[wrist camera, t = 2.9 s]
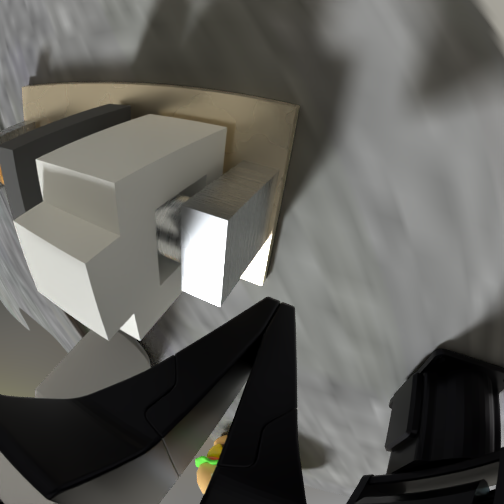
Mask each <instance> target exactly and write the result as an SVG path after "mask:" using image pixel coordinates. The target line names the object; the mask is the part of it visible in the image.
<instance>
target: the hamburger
mask: <svg viewBox="0 0 504 504" xmlns="http://www.w3.org/2000/svg"><path fill="white" fill-rule="evenodd" d="M226 438H227V435H224V436H221V437H219V438H218V439H217V440H216V441H215V442H214V446H213V447H212V448H211V449H210V450H209V452H208V454H207V457H205V456H201V457H199V458H196V459H195V461H196V467H199V468H198V471H197V472H196V474H197V483H198V485H199V487H200V489H201V491H202V493H203V494H204V493H205V491H206V489H207V487H208V484H209V482H210V480H211V477H212V475H213V472H214V470H215V467H216V464H217V462H218V459H219V457H220V454H221V451H222V449H223V446H224V443H225V441H226Z"/></svg>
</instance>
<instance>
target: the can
mask: <svg viewBox="0 0 504 504" xmlns="http://www.w3.org/2000/svg"><path fill="white" fill-rule="evenodd" d="M149 368H151V366H150V359H149V356H148V354H147V353H146V351H145V350H144V348H143V347H142V346H141V345H140V344H139V342H138V341H137V340H136V339H134V338H133V337H132V336H131V335H129V334H127V333H125V332H124V331H122V330H120V329H119V330H118V331H117V332H116V334H115V335H114V336H113V337H112V338H111V339H110V340H109V341H108V340H107V339H105V338H104V337H102V336H100V335H99V334H97V333H96V332H94V331H93V330H90V331H89V332H88V333H87V334H86V335H85V336H84V337H83V338H82V339H81V340H80V341H79V342H78V344H77V345H76V346H75V347H74V348H73V349H72V350H71V351H70V352H69V353H68V354H67V355H66V356H65V357H64V358H63V360H62V361H61V362H60V363H59V364H58V365H57V366H56V367H55V368H54V369H53V370H52V372H51V373H50V374H49V375H48V376H47V377H46V378H45V379H44V380H43V381H42V382H41V384H40V385H39V386H38V387H37V388H36V389H35V398H60V399H67V398H76V397H81V396H85V395H88V394H91V393H93V392H96V391H99V390H101V389H104V388H106V387H108V386H111V385H113V384H116V383H118V382H121V381H123V380H126V379H128V378H130V377H132V376H135V375H137V374H139V373H141V372H143V371H146V370H148V369H149Z"/></svg>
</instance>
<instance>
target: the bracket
mask: <svg viewBox="0 0 504 504" xmlns="http://www.w3.org/2000/svg"><path fill="white" fill-rule="evenodd" d="M226 134H227V127H224V126H219V125H214V124H208V123H203V122H198V121H192V120H186V119H180V118H174V117H168V116H161V115H154V114H148V115H145V116H142V117H139V118H136V119H133V120H130V121H127V122H124V123H121V124H118V125H115V126H113V127H110V128H107V129H104V130H102V131H99V132H97V133H94V134H91V135H89V136H86V137H84V138H82V139H79V140H77V141H74V142H72V143H70V144H67V145H65V146H63V147H61V148H58V149H56V150H54V151H52V152H50V153H47V154H45V155H43V156H41V157H39V158H37V159H36V166H37V172H38V177H39V183H40V188H41V193H42V198H43V202H41V203H40V204H38V205H36V206H35V207H33V208H32V209H30V210H28V211H27V212H25V213H24V214H22V215H21V216H19V217H18V218H16V219H15V220H13V222H14V225H15V228H16V232H17V235H18V238H19V241H20V244H21V247H22V250H23V253H24V256H25V259H26V261H27V264H28V267H29V269H30V272H31V275H32V277H33V280H34V282H35V285H36V287H37V290H38V291H39V292H40V293H41V294H43V295H44V296H45V297H46V298H48V299H49V300H50V301H52V302H53V303H54V304H56V305H57V306H58V307H60V308H61V309H63V310H64V311H65V312H67V313H68V314H70V315H71V316H72V317H74V318H75V319H77V320H78V321H80V322H81V323H82V324H84V325H85V326H87V327H88V328H90V329H91V330H93V331H94V332H96V333H97V334H99V335H100V336H102V337H104V338H105V339H107V340H108V341H109V340H110V339H111V338H112V337H113V336H114V335H115V334H116V332H117V331H118V330H119V329H120V330H122V331H124V332H125V333H127V334H129V335H131V336H132V337H134V338H136V339H138V340H139V341H141V340H142V339H143V337H144V336H145V335H146V334H147V333H148V331H149V330H150V329H151V328H152V327H153V326H154V324H155V323H156V322H157V321H158V320H159V319H160V317H161V316H162V315H163V314H164V313H165V312H166V311H167V309H168V308H169V307H170V306H171V305H172V304H173V302H174V301H175V300H176V299H177V298H178V297H179V296H180V294H181V293H182V292H183V291H182V275H181V263H179V262H177V261H174V260H172V259H169V258H167V257H165V256H162V255H160V254H158V253H157V239H156V221H155V210H156V209H157V208H159V207H160V206H161V205H163V204H164V203H166V202H167V201H169V200H170V199H171V198H173V197H174V196H176V195H177V194H182V195H186V196H189V197H192V196H194V195H195V194H196V193H198V192H199V191H201V190H202V189H203V188H205V187H206V186H207V185H209V184H210V183H212V182H213V181H214V180H216V179H217V178H219V177H220V176H221V175H223V165H224V154H225V144H226Z"/></svg>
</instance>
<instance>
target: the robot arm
mask: <svg viewBox="0 0 504 504" xmlns="http://www.w3.org/2000/svg"><path fill="white" fill-rule="evenodd" d="M247 379H248V380H247ZM246 381H247V383H246V385H245V388H244V391H243V394H242V397H241V400H240V402H239V405H238V408H237V411H236V413H235V416H234V419H233V422H232V424H231V427H230V430H229V433H228V435H227V438H226V441H225V443H224V446H223V449H222V451H221V454H220V457H219V459H218V462H217V464H216V467H215V470H214V472H213V475H212V477H211V480H210V482H209V484H208V487H207V489H206V491H205V493H204V496H203V498H202V500H201V502H200V504H307V503H306V497H305V490H304V483H303V476H302V469H301V462H300V454H299V444H298V425H297V409H296V408H297V358H296V322H295V307H294V306H292V305H289V304H286V303H284V302H282V303H281V304H280V301H279V300H276V299H273V298H271V297H266V298H264V299H263V300H261V301H259V302H258V303H256V304H255V305H253V306H252V307H250V308H249V309H247V310H245V311H244V312H242V313H241V314H239V315H238V316H236V317H234V318H233V319H231V320H230V321H228V322H226V323H225V324H223V325H222V326H220V327H218V328H217V329H215V330H214V331H212V332H210V333H209V334H207V335H206V336H204V337H202V338H201V339H199V340H197V341H196V342H194V343H192V344H191V345H189V346H188V347H186V348H184V349H183V350H181V351H179V352H178V353H176V354H175V356H174V355H172V356H171V357H169V358H167V359H166V360H164V361H162V362H160V363H159V364H157V365H155V366H153V367H151V368H149V369H148V370H146V371H143V372H141V373H139V374H137V375H135V376H132V377H130V378H128V379H126V380H123V381H121V382H118V383H116V384H113V385H111V386H108V387H106V388H104V389H101V390H99V391H96V392H93V393H91V394H88V395H85V396H81V397H76V398H67V399H60V398H31V397H14V396H6V395H1V394H0V504H159V503H160V502H161V500H162V499H163V498H164V497H165V495H166V494H167V493H168V491H169V490H170V488H171V487H172V486H173V485H174V484H175V482H176V481H177V480H178V478H179V476H180V475H181V474H182V473H183V471H184V470H185V469H186V467H187V466H188V465H189V463H190V462H191V461H192V459H193V458H194V456H195V455H196V454H197V452H198V451H199V449H200V448H201V447H202V445H203V444H204V442H205V441H206V440H207V438H208V437H209V435H210V434H211V433H212V431H213V430H214V428H215V427H216V425H217V424H218V423H219V421H220V420H221V418H222V417H223V415H224V414H225V412H226V411H227V409H228V408H229V406H230V405H231V404H232V402H233V401H234V399H235V398H236V396H237V395H238V393H239V392H240V390H241V388H242V387H243V385H244V384H245V382H246ZM503 389H504V368H502V367H499V366H496V365H492V364H489V363H486V362H483V361H480V360H477V359H474V358H470V357H467V356H464V355H461V354H458V353H455V352H452V351H449V350H446V349H438V350H436V351H434V352H433V353H432V355H431V356H430V357H429V358H428V359H427V361H426V362H425V363H424V364H423V365H422V366H421V367H420V369H419V370H418V371H417V372H416V373H414V374H413V375H411V377H410V378H409V379H408V380H407V381H406V382H405V383H404V384H403V385H402V386H401V387H400V388H399V390H398V391H397V392H396V393H395V394H394V397H393V398H392V399H391V400H390V403H389V407H390V408H391V409H392V411H391V417H390V423H389V428H388V433H387V438H386V443H385V448H386V451H389V452H391V455H390V459H389V464H388V468H387V473H386V475H376V476H374V475H364V476H363V477H362V478H361V480H360V482H359V484H358V485H357V487H356V489H355V490H354V492H353V494H352V495H351V497H350V499H349V500H348V502H347V504H504V447H502V448H501V423H500V404H499V393H500V392H501V391H502V390H503ZM493 485H496V489H494V490H491V491H490V489H489V486H493Z"/></svg>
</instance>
